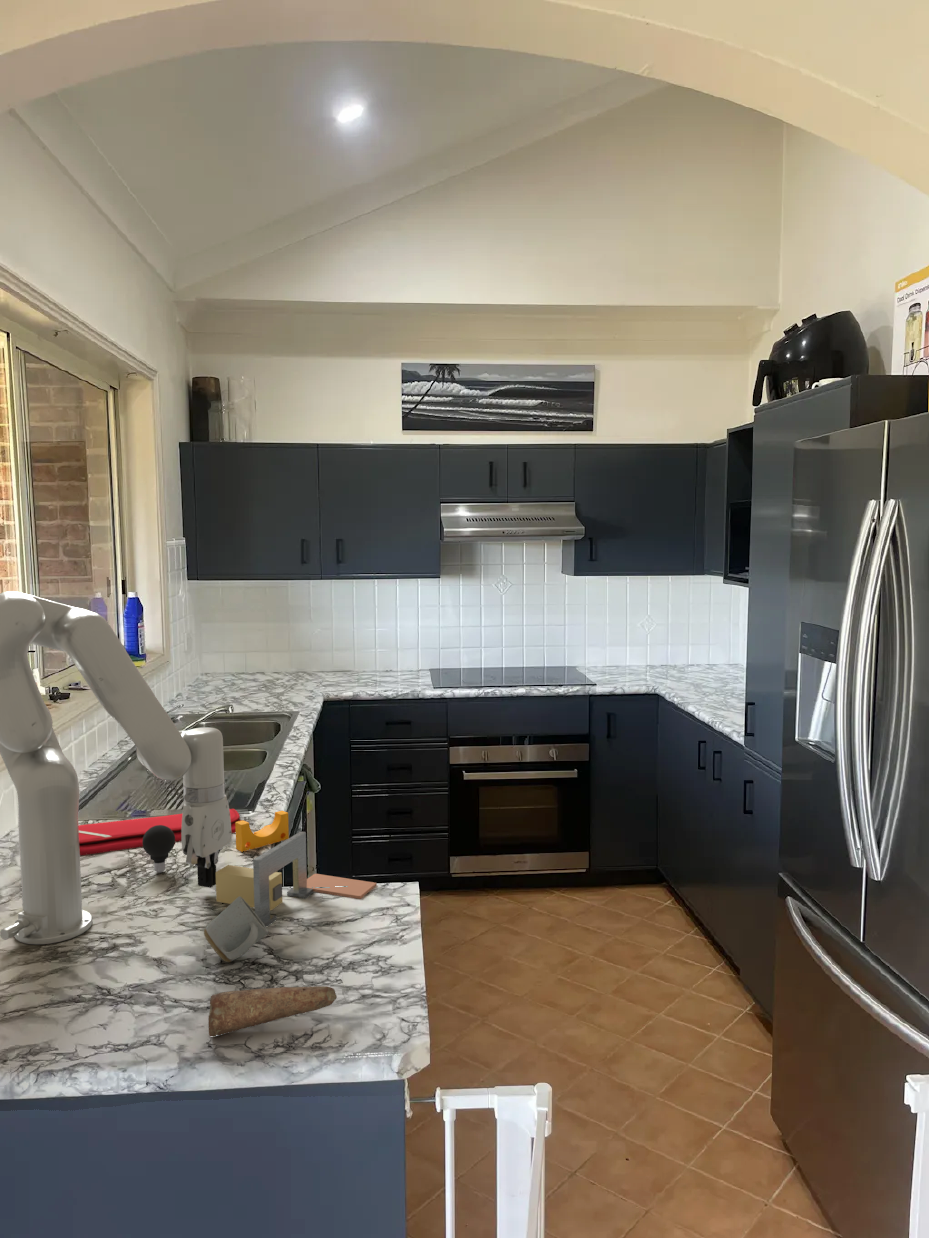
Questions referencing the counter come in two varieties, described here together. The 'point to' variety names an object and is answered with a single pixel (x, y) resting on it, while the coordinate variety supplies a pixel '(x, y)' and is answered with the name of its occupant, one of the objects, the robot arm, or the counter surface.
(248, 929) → the ceramic mug
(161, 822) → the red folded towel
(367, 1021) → the counter surface
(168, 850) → the black rubber blower bulb
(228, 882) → the tan rectangular block
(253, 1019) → the brown tapered cone
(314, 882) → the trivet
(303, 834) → the grey u-shaped piece
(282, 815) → the pipe clamp
